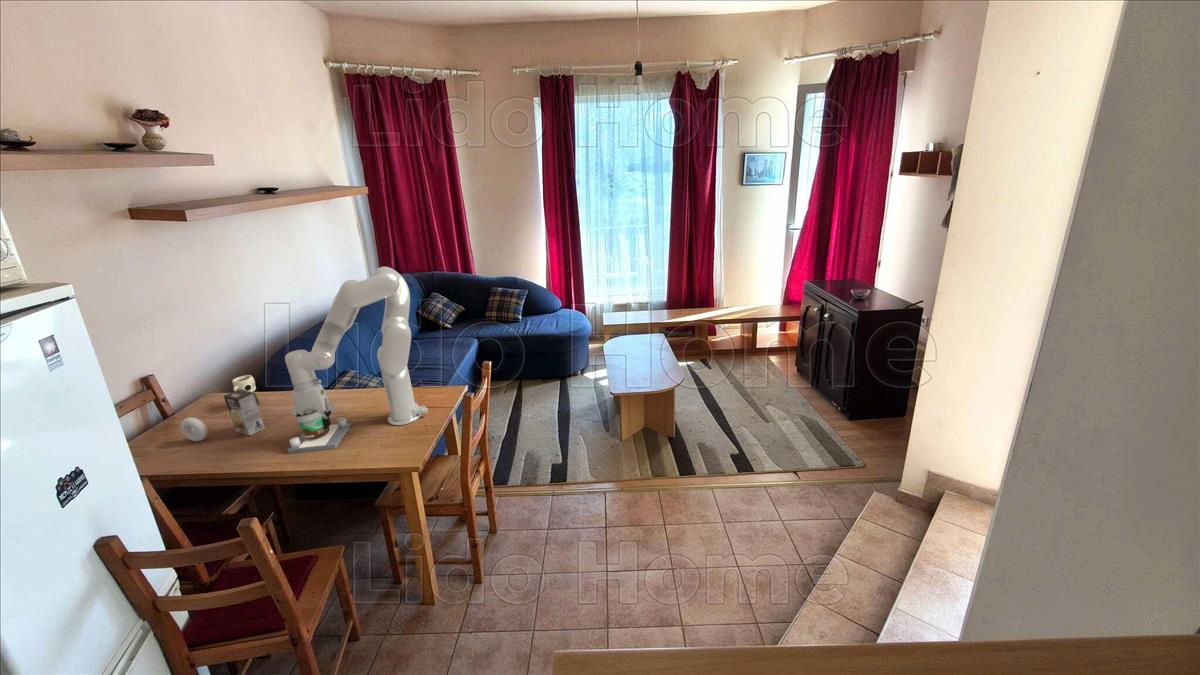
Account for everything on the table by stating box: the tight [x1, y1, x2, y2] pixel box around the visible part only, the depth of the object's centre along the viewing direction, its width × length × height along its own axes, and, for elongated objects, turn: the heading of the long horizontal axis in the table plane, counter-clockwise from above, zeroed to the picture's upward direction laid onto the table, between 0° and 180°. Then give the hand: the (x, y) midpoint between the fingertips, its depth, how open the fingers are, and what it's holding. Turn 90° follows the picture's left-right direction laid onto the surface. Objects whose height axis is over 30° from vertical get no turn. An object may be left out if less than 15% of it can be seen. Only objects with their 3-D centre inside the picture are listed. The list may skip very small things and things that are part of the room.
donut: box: [180, 416, 208, 442], centre depth 187 cm, size 10×4×10 cm, turn 79°
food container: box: [296, 407, 330, 440], centre depth 182 cm, size 12×6×10 cm, turn 171°
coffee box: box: [223, 389, 266, 436], centre depth 192 cm, size 9×6×16 cm
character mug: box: [232, 374, 260, 404], centre depth 213 cm, size 11×7×13 cm, turn 175°
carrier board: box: [287, 416, 352, 455], centre depth 184 cm, size 16×16×4 cm
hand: (318, 427), depth 183 cm, fingers open, 5 cm apart
